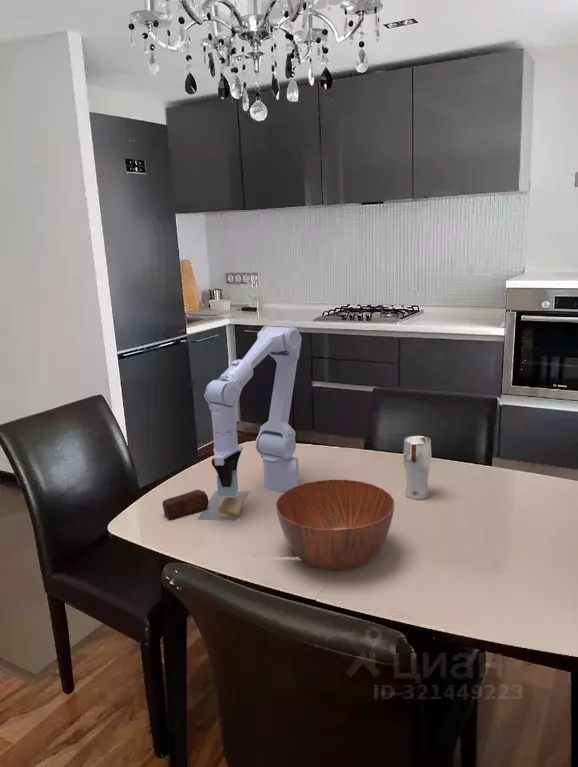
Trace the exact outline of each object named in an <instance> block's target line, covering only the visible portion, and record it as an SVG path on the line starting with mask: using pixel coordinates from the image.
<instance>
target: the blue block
mask: <svg viewBox="0 0 578 767" xmlns="http://www.w3.org/2000/svg"><path fill="white" fill-rule="evenodd" d="M216 483H217V491H218V496H235V494H236V492H237V491H239V485H238V484H239V482H238V469H237V470H233V472H232V484H231V487H222V485H221V482H220V479H219V476H218V474H217V475H216Z"/></svg>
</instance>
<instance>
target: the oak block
mask: <svg viewBox="0 0 578 767" xmlns="http://www.w3.org/2000/svg"><path fill="white" fill-rule="evenodd" d="M243 510H244V504H243V499H242V497H223V498H222V500H221V501H220V503H219V505H218V514H219V517H237V518H240V516H241V514H242V512H243Z"/></svg>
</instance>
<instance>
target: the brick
mask: <svg viewBox="0 0 578 767" xmlns="http://www.w3.org/2000/svg"><path fill="white" fill-rule="evenodd" d="M161 503H162V507H163V513H164V514H163V515H164V517H165V518H166V519H168V521H173V520H178V519H180V518H184V517H187V516H188V517H189V516H191V515H193V514H196V513H200V512H202V511H203V510H205V509H207V507H208V503H209V496H208V495H207V493H206V492H205V491H204V490H200V489H195V490H194V489H193V490H192V491H189V492H185V493H183V494H180V495H176V496H173V497H169V498H167V499H165V500H163V501H161Z"/></svg>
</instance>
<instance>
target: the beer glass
mask: <svg viewBox="0 0 578 767" xmlns="http://www.w3.org/2000/svg"><path fill="white" fill-rule="evenodd" d="M403 441H404V442H403V443H404V444H403V451H402V452H403V454H402V456H403V465H404V469H405V470H404V471H405V472H404V473H405V476H406V487H405V491H404V492H405V493H404V495H405V496H406V497H407V498H408V499H412V500H425V499H428V498H429V497H430V491H429V484H428V483H429V475H430V471H431V464H432V444H431V442H432V440H431V438H430V437H427V436H422V435H411V436H406V437H404V440H403Z"/></svg>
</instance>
